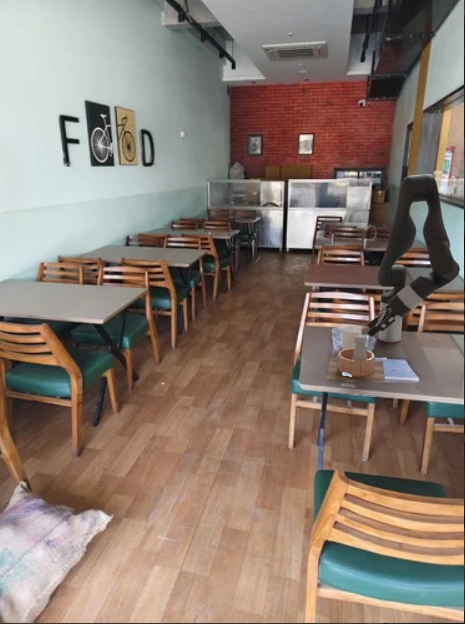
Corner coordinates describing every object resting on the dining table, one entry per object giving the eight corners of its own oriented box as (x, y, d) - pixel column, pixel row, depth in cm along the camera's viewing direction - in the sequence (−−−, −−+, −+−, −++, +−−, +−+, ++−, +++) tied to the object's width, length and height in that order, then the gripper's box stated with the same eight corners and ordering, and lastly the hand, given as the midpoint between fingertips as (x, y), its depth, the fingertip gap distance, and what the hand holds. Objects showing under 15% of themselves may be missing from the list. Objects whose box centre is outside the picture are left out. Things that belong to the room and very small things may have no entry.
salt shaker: (368, 373, 153) (370, 339, 149) (351, 372, 154) (353, 338, 150) (366, 366, 158) (368, 333, 155) (350, 366, 159) (351, 333, 156)
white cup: (342, 355, 175) (343, 332, 172) (340, 348, 182) (341, 326, 180) (362, 355, 174) (363, 332, 171) (359, 348, 181) (360, 325, 179)
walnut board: (329, 359, 171) (330, 357, 171) (382, 362, 165) (382, 361, 165) (326, 380, 153) (326, 378, 152) (385, 385, 147) (385, 383, 147)
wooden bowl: (339, 361, 166) (339, 347, 165) (373, 364, 163) (373, 349, 161) (337, 375, 155) (337, 359, 153) (373, 378, 151) (374, 362, 150)
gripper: (396, 288, 154) (361, 317, 160) (399, 298, 140) (361, 329, 147) (411, 303, 153) (376, 331, 160) (415, 314, 140) (376, 345, 147)
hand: (369, 330), depth 154 cm, fingers open, 8 cm apart
